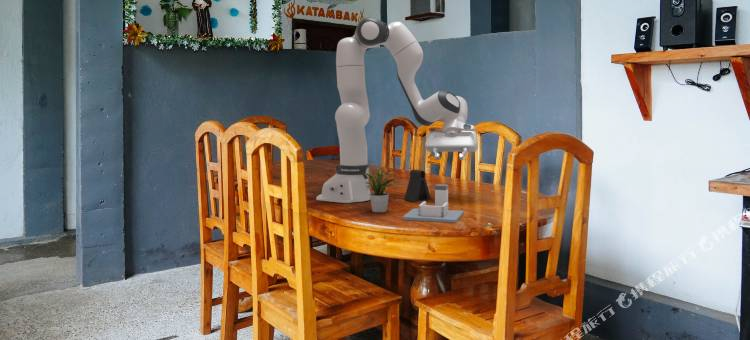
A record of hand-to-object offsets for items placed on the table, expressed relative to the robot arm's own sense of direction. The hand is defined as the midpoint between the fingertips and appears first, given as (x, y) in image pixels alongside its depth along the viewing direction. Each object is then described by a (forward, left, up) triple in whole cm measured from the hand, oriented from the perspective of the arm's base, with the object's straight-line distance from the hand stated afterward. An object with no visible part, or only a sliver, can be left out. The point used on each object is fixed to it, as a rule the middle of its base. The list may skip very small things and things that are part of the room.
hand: (449, 158), depth 216 cm
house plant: (-21, -22, -17) cm, 36 cm away
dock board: (0, -25, -17) cm, 31 cm away
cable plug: (0, -12, -17) cm, 21 cm away
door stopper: (-13, +4, -17) cm, 22 cm away
